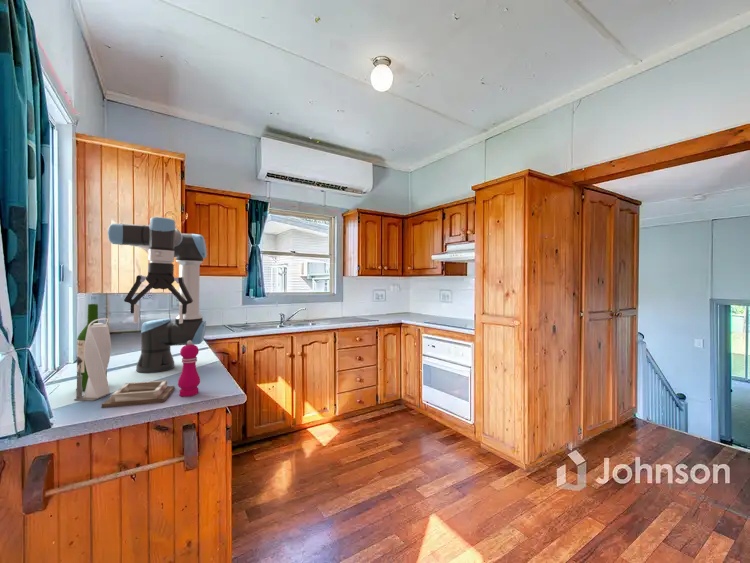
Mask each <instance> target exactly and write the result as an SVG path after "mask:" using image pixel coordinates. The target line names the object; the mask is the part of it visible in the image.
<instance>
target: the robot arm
mask: <svg viewBox="0 0 750 563" xmlns="http://www.w3.org/2000/svg"><path fill="white" fill-rule="evenodd" d="M107 237H108V238H107V239H108V241H109V242H110V244H112V245H119V246H125V245H126V246H131V247H134V248H139V249H143V250H145V251H146V252H147V253H148V259H147V260H148V261H150V262H148V263H147V276H146V275H145V276H144V275H142V274H139V275H136V278H135V282H134V283H133V285H132V287H131V289H130V290H129V291H128V293H127V295H126V296H125V298H124V299H123V301H124V302H125V303H128V304H130V314H133V324H138V323H139V320H140V303H138V302H139V301H140V300H141V299H142V298H143V297H144V296H145V295H146V294H147V293H149V292H150V290H152V289H154V290H159V289H160V290H167V289H168V290H169V292H171V293H172V295H173V296H174V297H175V298H176V299H177V301H179V302H178V307H179V308H178V315H177V316H175V320H174V321H172V319H171V318H167V317H166V318H159V319H153V320H148V321H144V322H143V323H142V325H141V331H140V337H141V339H140V344H141V345H140V346H141V347H140V352H141V353H140V356H139V359H138V361H137V364H136V372H138V373H147V374H149V373H160V372H164V371H169V370H171V369H174V368H175V360H174V357H173V355H172V351H171V347H175V346H185V345H188V344H187V342H188V341H189V340H191V341H192V345H196V346H197V345H200V344H202V343H203V341H204V337H205V334H206V326H207V321H206V320H204V319H203V316H202V315H201V314H200V270H201V269H200V266H201V264H202V263H204V259H206V258H207V256H208V255H207V253H208V252H207V245H206V241H205V237H204V236H203V235H202V234H199V233H198V234H197V233H186V232H185V233H182V232H181V231H180V230H179V229H178V228H177V226H176V221H175V219H174V218H170V217H169V218H168V217H160V216H153V217H151V218H150V219H149V224H148V225H147V224H145V225H144V224H143V225H142V224H130V223H129V224H128V223H111V224H109V226H108V228H107ZM174 261H175V262H176V263H177V264H178V265H179V273H178V274H179V277H175V276H174V270H175V269H174V268H175V267H174V266H175V264H174V263H173V262H174ZM145 281H146V282H147V283H148V285H145V287H144V288H143V289H142V290H141V291H140V292H139V293H138V294H137V295H136V292H137V291H138V289H139V288H140V286H141V285H142V283H145ZM174 282H176V284H178V287H179V288H178V290H179V291H178V290H177V289H176V287H175V286H174V285H173V283H174ZM134 296H135V297H134ZM133 297H134V298H133Z"/></svg>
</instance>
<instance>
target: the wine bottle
mask: <svg viewBox="0 0 750 563" xmlns="http://www.w3.org/2000/svg"><path fill="white" fill-rule="evenodd" d="M96 319H99V305H98V303H88V304H87V323H86V325H85V327H84V328H83V329H82V331H80V333H79V334H78V337H77V338H76V339H77V340H76V341H77V342H76V343H77V344H76V377H77V376H78V369H79V364H80V368H81V375H82V388H83V391H82V392H85V390H86V385H87V381H88V374H87V370H86V365H85V358H84V345H85V338H86V333H87V328H88V325H89V324H90V323H91V322H92V321H94V320H96ZM94 323H99V320H97V321H95V322H93V323H92V324H91V325H93V324H94ZM91 325H90V326H91ZM106 377H107V378H108V369H107V370H106Z"/></svg>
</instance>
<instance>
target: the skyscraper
mask: <svg viewBox="0 0 750 563" xmlns="http://www.w3.org/2000/svg"><path fill="white" fill-rule="evenodd" d="M97 320H98V321H102V320H106V321H105V323H103V322H98V323H94V324H93V325H91V324H92V323H93V322H95V321H97ZM109 320H110V319H109V318H107V317H101V318H98V319H96V320H94V321H92V322H91V323H90V324H89V325H88V328H87V333H86V338H85V345H84V358H85V365H86V370H87V374H88V381H87V385H86V390H85V391H83V388H82V375H81V368H80V364H79V369H78V376H77V375H76V388H75V391H76V392H75V393H76V397H75V398H74V401H78V400H80V401H81V400H83V401H84V402H85V401H86V402H87V401H89V402H95V401H97V400H99V398H100V399H103V398H104V396H105V397H107V396H109V395H111V391H110V386H109V381H108V376H107V377H106V370H107V371H108V366H109V364H110V359H111V352H112V344H111V343H112V340H111V334H110V333H111V332H110V329H109V324H108V322H109ZM90 325H91V326H90ZM83 392H84V394H83ZM106 395H107V396H106ZM81 402H82V401H81Z"/></svg>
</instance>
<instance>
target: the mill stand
mask: <svg viewBox="0 0 750 563" xmlns="http://www.w3.org/2000/svg"><path fill="white" fill-rule="evenodd" d="M175 387H176V386H175V385H168V380H167V379H166V380H155V381H154V380H153V381H152V380H151V381H140V382H139V381H137V382H127V383H124V384H123V385H122V386H120V387H119V388H118V389H117V390H115V391H114V392H113V393H112V394H110V397H108V398H107V399H106V400H105V401H103V402H102V403H101V408H112V407H125V406H135V405H136V406H137V405H147V404H148V405H149V404H158V403H165V401H166V400H167V399H168V398H169V397H170V395H171V394H172V393H173V391H174V390H175V389H176V388H175Z"/></svg>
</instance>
